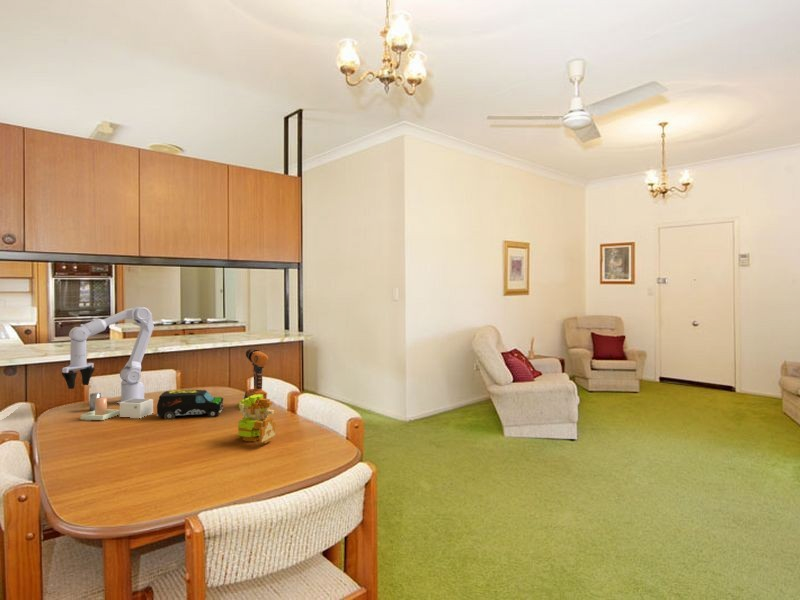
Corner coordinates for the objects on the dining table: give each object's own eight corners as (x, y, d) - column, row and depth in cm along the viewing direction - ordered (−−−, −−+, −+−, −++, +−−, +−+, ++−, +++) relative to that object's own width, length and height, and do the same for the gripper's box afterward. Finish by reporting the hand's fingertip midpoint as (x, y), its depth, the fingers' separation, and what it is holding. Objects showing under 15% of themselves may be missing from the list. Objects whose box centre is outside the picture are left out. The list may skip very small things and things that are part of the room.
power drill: (239, 400, 220) (239, 347, 220) (254, 398, 225) (255, 347, 224) (253, 410, 203) (253, 353, 202) (269, 408, 207) (270, 352, 206)
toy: (261, 448, 155) (262, 403, 154) (225, 443, 158) (225, 399, 158) (284, 434, 169) (285, 393, 169) (250, 431, 173) (251, 390, 173)
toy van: (221, 417, 192) (221, 393, 192) (155, 420, 186) (155, 395, 186) (224, 410, 202) (224, 387, 202) (161, 413, 196) (161, 389, 196)
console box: (133, 412, 197) (133, 397, 197) (153, 413, 196) (153, 398, 196) (119, 417, 188) (119, 402, 188) (139, 418, 187) (139, 403, 187)
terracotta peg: (100, 414, 191) (100, 397, 191) (108, 414, 190) (109, 397, 190) (92, 416, 187) (92, 399, 187) (101, 417, 186) (101, 399, 186)
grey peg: (94, 408, 202) (94, 392, 202) (102, 409, 202) (103, 392, 202) (87, 410, 198) (87, 394, 198) (95, 411, 198) (95, 394, 198)
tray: (99, 413, 194) (99, 408, 194) (120, 414, 193) (120, 409, 193) (80, 419, 184) (80, 414, 184) (102, 421, 183) (102, 416, 183)
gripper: (83, 352, 207) (83, 383, 207) (55, 357, 193) (55, 389, 193) (98, 353, 206) (98, 383, 206) (71, 357, 192) (71, 390, 192)
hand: (78, 386), depth 200 cm, fingers open, 7 cm apart
